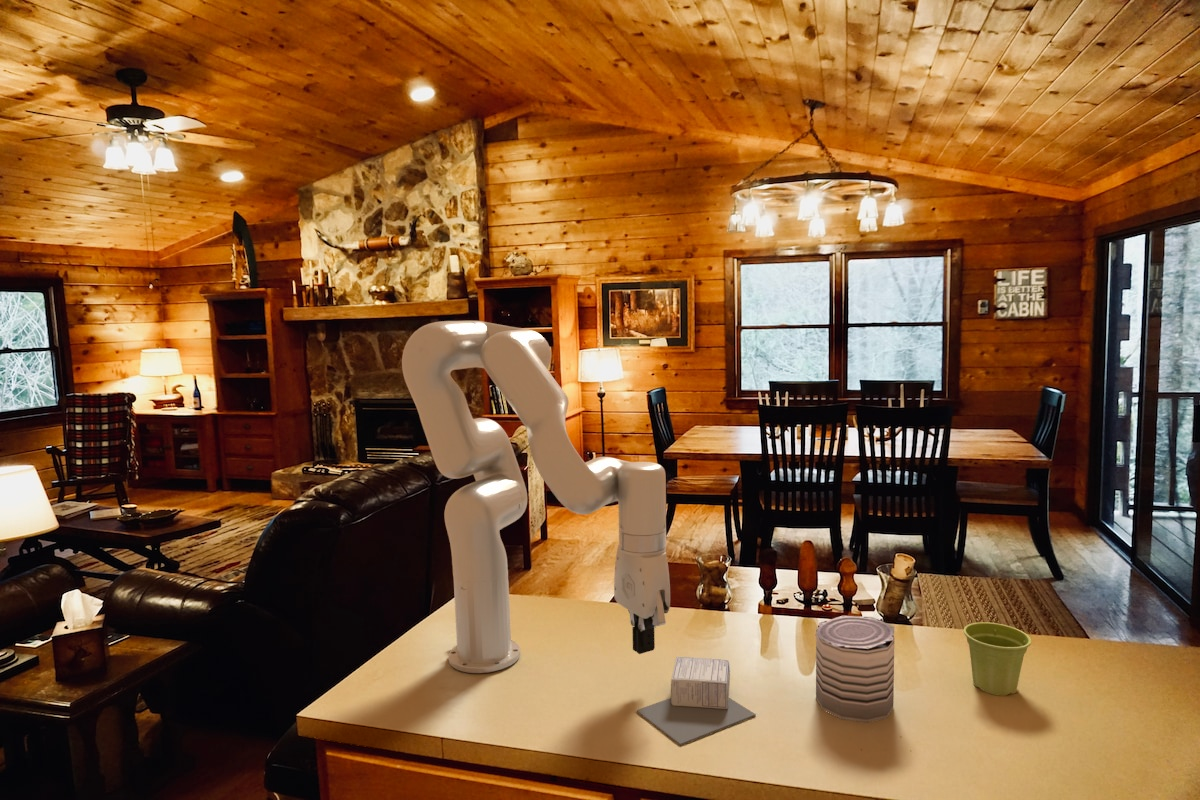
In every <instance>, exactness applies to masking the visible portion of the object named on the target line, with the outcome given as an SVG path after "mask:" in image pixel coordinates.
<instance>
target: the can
mask: <svg viewBox="0 0 1200 800" xmlns="http://www.w3.org/2000/svg"><path fill="white" fill-rule="evenodd" d="M894 635H895V626H893V625H891V624H889V623H888V622H885V621H882V620H881V619H879V618H876V617H874V616H855V615H841V616H837V617H834V618H831V619H828V620H824V621H821V622H819V623H818V625H817V627H816V631H815V651H816V652H815V699H816V701H817V703H818V702H819V703H818V704H820V705H819V706H821V707H820V709H821V710H822V711H824V712H826V711H827V712H826V713H828V712H829V713H828V714H830V713H831V714H830V715H832V714H833V716H834V715H835V716H834V717H836V716H837V717H836V718H838V717H839V718H838V719H840V720H843V721H850V722H857V723H859V722H860V723H865V724H866V723H872V722H876V721H880V720H885V719H887V718H888V717H889V716H890V714H891V712H892V711H893V709H894V697H895V696H894V692H895V689H894V688H895V685H894V684H895V636H894Z"/></svg>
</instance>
